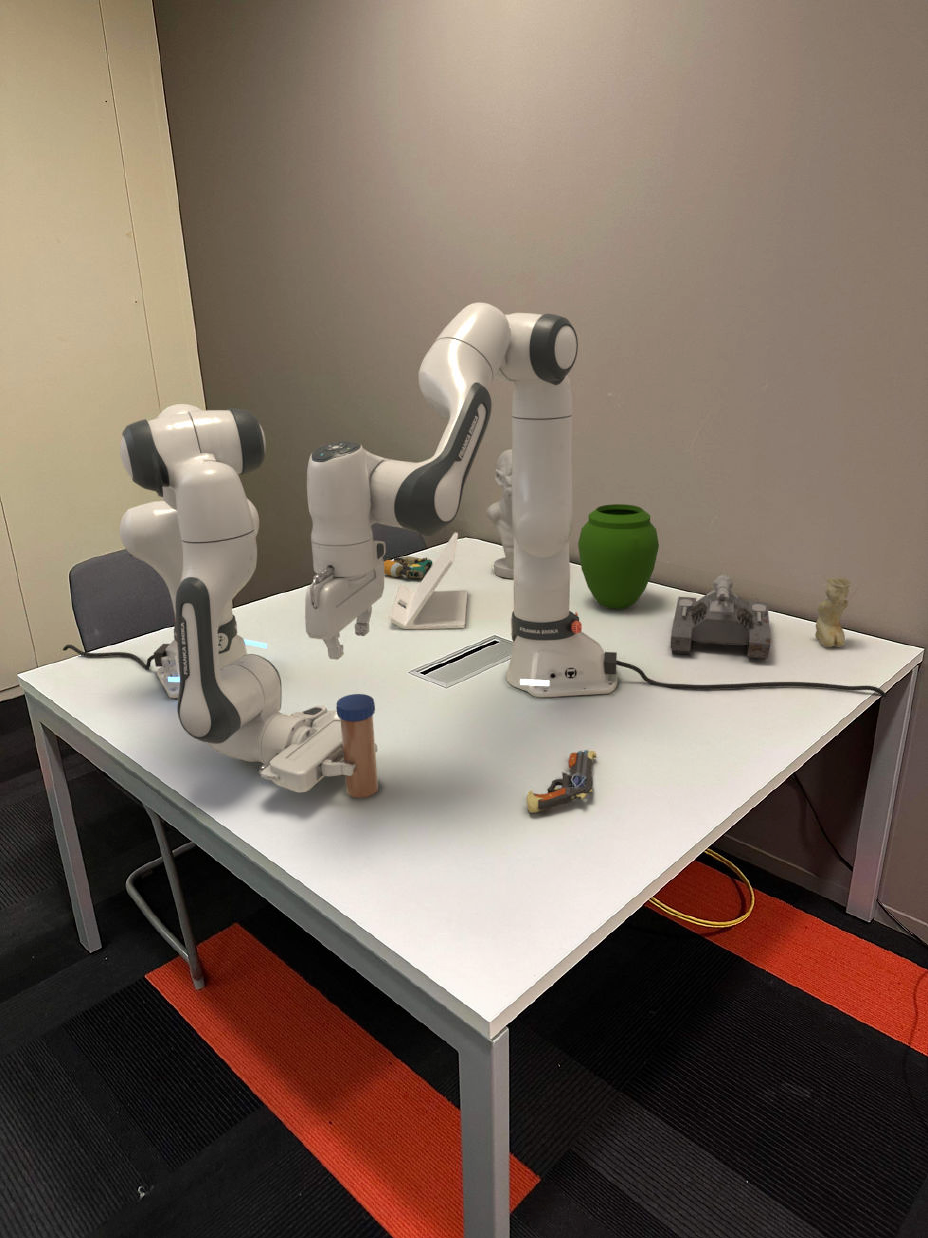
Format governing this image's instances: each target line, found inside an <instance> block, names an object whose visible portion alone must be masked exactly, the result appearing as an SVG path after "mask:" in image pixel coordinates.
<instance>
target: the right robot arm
mask: <svg viewBox="0 0 928 1238" xmlns="http://www.w3.org/2000/svg"><path fill="white" fill-rule="evenodd" d="M578 340H579V339H578V335H577V332H576V330H575V328H574V326H573V324H572V323H571V322H570V320H569V319H568V318H567V317H564V316H562V315H558V314H555V313H554V314H553V313H544V314H539V313H531V312H513V313H510V314H509V313H508V314H504V312H503V311H502V310H501V309H499V308H498V307H496V306H494V305H493V304H490V303H487V302H473V303H470V304H468V305H466V306H465V307H464V308H462V309H461V311H459V312H458V313H457V314H456V315H455V316H454V317H453V318H452V319H451V320H450V321H449V322H448V324H447V325H446V326H445V327H444V329H443V330H442V331H441V332H440V333H439V335H437V338H436V339H435V341H434V342H433V343H432V345H431V347H430V348H429V350H428V351H427V353H426V354H425V356H424V358H422V359H423V360H422V362H421V364H420V367H419V370H418V375H417V376H418V385H419V389H420V392H421V394H422V396H423V398H424V400H425V401H426V402H427V404H428V405H429V406H430V407H431V409H432V410H434V411H435V412H436V413H437V414H438V415H440V416H441V417H442V418H445V419H446V420H448V422H447V425H446V427H445V429H444V432H443V434H442V436H441V439H440V441H439V443H438V446H437V447H436V451H435V452H434V455H433V456H431V457H430V458H428V459H425V460H423V461H419V462H413V461H404V460H397V459H394V458H393V459H392V458H386V457H384V456H383V457H382V456H379V455H376V454H373V453H372V452H370V451H368V450H366V449H365V448H364V447H363V445H362V444H361V443H359V442H357V441H354V440H338V441H334V442H333V441H332V442H331V441H330V442H328V443H325V444H322V445H320V446H318V447H317V448H315V449H314V450H313V451H312V452H311V453H310V456H309V459H308V462H307V463H308V464H307V471H306V494H307V506H308V508H307V509H308V512H309V515H310V518H311V521H312V529H311V533H310V543H311V544H310V545H311V553H312V554H311V555H312V566H313V571H314V572H315V573H316V574H314V576H313V577H312V580H313V581H312V582H311V584H310V585H309V586H308V587H307V589H306V592H305V598H304V600H305V601H304V610H305V611H304V618H305V620H304V621H305V633H306V634H307V635H308V637H309V638H310V639H315V640H322V641H323V643H324V645H325V647H326V648H327V657H328V658H329V659H330V660H337V661H338V660H339V659H341V658H342V657H343V656H344V654H345V653H344V644H340V640H339V638H340V636H341V634H340V633H341V632H342V630H344V629H345V628H347V627H348V625H350V624H352V622H354V621H355V620H356V623H355V624H354V634H355V635H356V636H359V637H365V636H366V635H367V634H369V633H370V621H371V617H372V616H371V615H372V611H373V605H374V604H375V603H376V602H378V601H379V600H380V599H381V598H382V597H383V594H384V590H385V574H384V562H385V560H384V556H385V555H386V550H387V549H386V548H387V547H386V542H385V541H381V540H374V533H373V530H372V525H374V524H381V525H384V526H388V527H394V528H399V529H404V530H407V531H409V532H412V533H416V534H419V535H422V536H426V537H427V536H428V537H432V536H435V535H438V534H440V533H441V532H443V531H444V530H445V529H446V528H448V526H450V525H451V524H452V522H453V521H454V520H455V518H456V517H457V515H458V513H459V511H460V510H459V509H460V506H461V502H462V496H463V492H464V487H465V484H466V481H467V479H468V476H469V473H470V472H471V469H472V466H473V464H474V461H475V458H476V456H477V454H478V451H479V449H480V446H481V444H482V441H483V439H484V436H485V433H486V430H487V428H488V425H489V422H490V418H491V414H492V407H493V405H492V404H493V403H492V397H491V395H490V393H489V389H490V386H491V384H492V383H493V382H494V380H495V381H496V380H497V381H502V382H513V388H512V398H511V399H512V400H511V442H512V443H511V449H512V529H513V534H514V573H513V577H514V578H513V611H512V612H511V618H510V635H511V640H512V645H511V646H512V647H511V655H510V660H509V665H508V669H507V672H506V675H505V678H506V681H507V683H509V684H510V685H511V686H513V687H515V688H517V689H519V690H522V691H525V692H527V693H529V694H530V695H531V696H533V697H535V698H556V697H572V696H573V697H574V696H588V695H589V696H590V695H591V696H592V695H607V694H611V693H612V692H613V691H615V690H616V688H617V686H618V673H617V666H620V667H623V668H627V669H630V670H632V671H634V672H636V673H638V674H639V675H640V677H641V678H642V680H643V681H645V683H647V684H650V685H653V686H657V687H661V688H667V689H668V688H669V689H687V690H723V689H724V690H725V689H726V690H727V689H744V688H748V689H749V688H763V687H764V688H767V687H769V688H771V687H804V688H805V687H807V688H822V689H829V690H830V689H832V690H841V691H850V692H851V691H872V692H875V693H877V694H879V695H880V696H881V697H885V698H886V697H888V694H887V693H886V692H885V691H884V690H883V689H882V688H881V689H880V688H879V687H877V686H874V685H843V684H832V683H823V682H808V681H763V682H761V681H760V682H744V683H719V684H718V683H717V684H692V683H691V684H690V683H667V682H660V681H656V680H654V679H651V678H650V677H648V676H647V675H646V674H645V672H644V671H643V670H642V669H641V668H640V667H638V666H636V665H634V664H631V663H627V662H624V661H620V660H618V659H617V658H618V653H617V652H616V651H615V652H614V651H604V648H603V647H602V645H601V644H600V643H599V642H598V641H596V640H595V639H593V638H591V637H590V636H589V635H587V634H586V633H585V632H583V631H582V630H583V626H582V625H583V624H582V622H581V621H580V616H579V615H578V612H577V611H575V613H574V612H573V611H571V610H570V590H571V589H570V586H571V585H570V584H571V566H570V565H571V562H570V561H571V560H570V558H571V557H570V555H571V554H570V537H571V535H572V532H573V458H572V457H573V456H572V455H573V397H572V395H573V394H572V384H571V378H570V377H571V376H570V372H571V370H572V369H573V366H574V365H575V362H576V360H577V357H578V350H579V343H578V342H579V341H578Z"/></svg>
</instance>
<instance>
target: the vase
mask: <svg viewBox="0 0 928 1238" xmlns="http://www.w3.org/2000/svg"><path fill="white" fill-rule="evenodd" d="M587 516H588V517H587V518H588V521H587V522H586V523H585V524H584V525H583V526H582V527H581V529H580V534H579V538H578V541H577V546H578V554H579V562H580V569H581V571H582V574H583V577H584V580H585V583H586V585H587V588H588V590H589V591H590V594H592V597H593V598H594V600H595V601H596V602H597V603H598V604H599V605H600V606H602V607H604V608H606V609H609V610H625V609H628V608H630V607H632V606H634V604H636V602H638V601H639V599H640V597H641V596H642V595H643V593H644V592H645V590H646V588H647V586H648V584H649V581H650V579H651V577H652V574H653V572H654V570H655V566H656V562H657V557H658V552H659V548H660V544H659V543H660V542H659V537H658V531H657V528H656V527H655V526H654V524H653V523H652V522H651V515H650V514H649V512H647V511H645V510H644V509H643V508H642V507H641V506H638V505H633V504H622V503H621V504H619V503H616V504H615V503H614V504H604V505H601V506H598V507H597V508H595V509H594V510H592V511H591V512H590V513H589V514H588V515H587Z"/></svg>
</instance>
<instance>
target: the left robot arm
mask: <svg viewBox="0 0 928 1238" xmlns="http://www.w3.org/2000/svg"><path fill="white" fill-rule="evenodd" d="M121 433H122V434H121V435H122V436H121V437H122V438H121V441H120V445H119V446H120V447H119V448H120V449H119V455H120V459H121V463H122V465H123V468H124V469H125V471H126V473H127V475H128V476H130V478H131V480H132V482H133V483H134V484H136V485H137V486H139V487H141V488H142V489H144V490H148V491H152V492H156V494H157V496H158V497H160V498H161V499H162V500H156V501H150V502H146V503H143V504H140V505H137V506H133V507H130V508H127V510H126V511H125V513H124V514H123V515H122V518H121V519H120V522H119V537H120V540H121V543H122V545H123V547H124V548H125V549H126V551H127V552H128V553H129V554H130V555H131V556H132V557H134V558H135V559H137V560H140V561H142V562H143V563H146V564H147V565H148V566H150V567H151V568H152V569H153V570H155V572H156V573H157V574H158V575H159V576H160V577H161V578H162V580H163V582H164V584H165V585H166V587H167V589H168V593H169V596H170V600H171V605H172V608H173V612H174V618H175V619H174V620H173V622H174V628H173V640H172V641H171V642H170V643H162V644H161V645H160V646H159V647H158V648H157V649H156V650H155V651H154V652H153V654H152V655H150V656H149V657H148V658H147V660H146V664H145V662H144V661H143V660H142V659H141V658H140V657H139V656H138V655H136V654H133V653H132V652H131V653H130V652H125V651H124V652H123V651H113V652H86V651H83V650H80V649H79V648H78V647H76V646H75V645H73V644H66V645H65V646H63V648H62V651H64V652H65V651H67V650H69V649H71V650H72V651H73V652H75V653H77V654H79V655H80V656H83V657H88V658H101V657H102V658H103V657H126V658H127V657H128V658H131V659H133V660H135V661H136V662H137V663H138V664H139V666H141V667H142V668H143V669H149V668H150V667H151V663H152V661H153V660H154V665H155V667H159V668H157V669H156V675H157V677H158V679H159V681H160V683H161V684H162V687H163V689H164V690H165V692H166V694H167V695H168V697H169V698H170V699H177V709H176V710H177V716H178V720H179V723H180V725H181V727H182V729H183V730H184V731H185V732H186V734H188V735H189V736H190V737H192V738H194V739H195V740H197V741H200V742H203V743H206V744H208V746H210V747H211V748H212V749H213V750H215V751H217V752H218V753H220V754H223V755H225V756H227V757H230V758H233V759H236V760H239V761H240V760H241V761H245V762H251V763H256V762H260V763H262V765H261V766H260V767H259V772H258V774H259V776H260V778H262V779H265V780H268V781H272V783H273V784H274V785H276V786H279V787H281V788H283V789H286V790H289V791H292V792H295V793H306V792H308V791H310V790H311V789H312V788H314V786H316V784H318V783H319V782H320V781H321V780H322V779H323V778H324V777H335V776H336V777H337V776H345V775H347V776H351V775H352V774H353V773H354V772H355V771H356V763H355V762H353V761H348V760H346V761H344V758H343V746H342V735H341V724H340V718H339V717H338V715H337V710H329V711H328V708H327V706H324V705H316V706H314V707H311V708H309V709H306V710H303V711H299V712H294V713H290V714H284V713H281V712H280V711H281V709H282V698H283V697H282V695H283V694H282V689H283V688H282V679H281V675H280V672H279V671H278V669H277V668H276V666H275V665H274V664H273V663H272V662H271V661H270V660H269V659H267V658H266V657H263V656H261V655H259V654H255V653H248V651H247V647H246V645H248V646H252V647H258V648H261V649H268V644H267V643H266V642H259V641H256V640H250V639H245V638H244V637H242V636H240V635H238V623H237V619H236V616H235V615H234V614H233V607H232V606H233V605H232V601H233V599H234V598H235V597H236V595H237V594H238V593H240V591H242V589H243V588H244V587H245V586H246V585H247V583H249V581H250V580H251V578H252V577H253V575H254V573H255V571H256V568H257V563H258V543H257V536H258V533H259V530H260V516H259V513H258V512H259V511H258V510H257V508H256V507H255V505H254V504H253V502H252V501H251V500H250V499H248V498H247V494H246V492H245V489H244V486H243V484H242V480H241V478H240V476H239V474H240V475H241V476H244V475H247V474H249V473H252V472H254V471H257V470H259V469H260V468H261V467H262V465H263V463H264V461H265V457H266V455H265V454H266V448H267V447H266V446H267V441H266V440H267V439H266V436H265V431H264V429H263V428H262V426H261V424H260V422H259V420H258V417H257V416H256V415H255V414H254V413H253V412H251V411H250V410H249V409H244V408H235V407H229V408H228V409H227V410H226V409H225V410H224V409H217V410H216V409H207V410H202V409H201V408H199V407H198V406H196V405H192V404H189V403H176V404H173V405H170V406H167V407H165V408H164V409H163V410H162V411H161V412H160V413H159V414H158V416H157V417H156V418H153V419H150V420H147V419H144V418H143V419H141V420H138V421H135V422H134V421H133V422H132V423H129V424H128V425H126V426H125V427H124V429H123V431H122V432H121ZM375 753H376V754H377V753H378V745H377V743H376V742H375Z"/></svg>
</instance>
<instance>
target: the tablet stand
mask: <svg viewBox="0 0 928 1238" xmlns="http://www.w3.org/2000/svg"><path fill="white" fill-rule="evenodd" d="M458 537H459V533H458V532H456V531H455V532H453V534H452V535H451V537H450V539H449V540H448V542H447V543H446V544H445V546H444V548H443V549H442V551H441V552H440V554H439V555H438V556H437V558H436V559H435V561H434V562H433V563H432V566H431V567H430V568H429V569H428V571H427V572H426V573H425V575H424V576H423V579H422V580H421V581H420V583H419V584H418V585H417V587H416V589H415V590H412V589H410V588H409V587H407V586H406V585H403V584H400V585H399V586H398V589H397V591H396V595H395V598H394V601H393V604H392V607H391V610H390V612H389V613H390V614H389V617H388V621H389V622H391V623H392V624H394V625H396V626H398V627H399V628H401V629H402V630H426V629H427V630H429V629H430V630H431V629H435V630H436V629H437V630H438V629H464V628H465V627H466V618H467V617H466V616H467V605H468V591H467V590H436V589H437V587H438V585H440V582H441V581H442V580H443V578H444V577H445V575H446V574H447V573H448V571H449V570H450V569H451V567H452V566H453V564H454V562H455V558H456V553H457V545H458ZM399 603H400V604H399ZM402 605H403V606H405V607H403V606H402Z"/></svg>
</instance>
